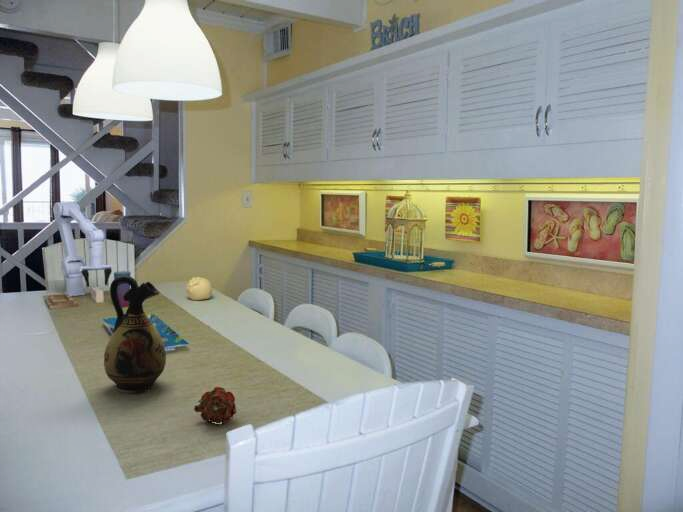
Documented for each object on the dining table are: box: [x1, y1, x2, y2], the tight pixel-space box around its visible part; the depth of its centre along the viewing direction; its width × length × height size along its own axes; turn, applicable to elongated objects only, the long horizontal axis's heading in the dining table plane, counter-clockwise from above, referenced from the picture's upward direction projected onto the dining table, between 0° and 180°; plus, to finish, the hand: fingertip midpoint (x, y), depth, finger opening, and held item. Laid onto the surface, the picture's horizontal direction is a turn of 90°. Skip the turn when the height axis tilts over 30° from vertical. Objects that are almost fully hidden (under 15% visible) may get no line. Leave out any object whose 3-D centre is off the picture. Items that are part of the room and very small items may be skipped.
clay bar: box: [90, 286, 105, 304], centre depth 250 cm, size 12×3×5 cm, turn 35°
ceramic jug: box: [103, 275, 167, 395], centre depth 143 cm, size 17×15×30 cm
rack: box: [44, 293, 79, 310], centre depth 241 cm, size 18×11×2 cm, turn 34°
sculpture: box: [185, 276, 213, 301], centre depth 257 cm, size 11×12×11 cm
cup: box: [113, 270, 131, 308], centre depth 238 cm, size 7×7×15 cm
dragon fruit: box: [193, 386, 237, 424], centre depth 126 cm, size 8×8×12 cm
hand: (97, 285), depth 250 cm, fingers open, 7 cm apart
